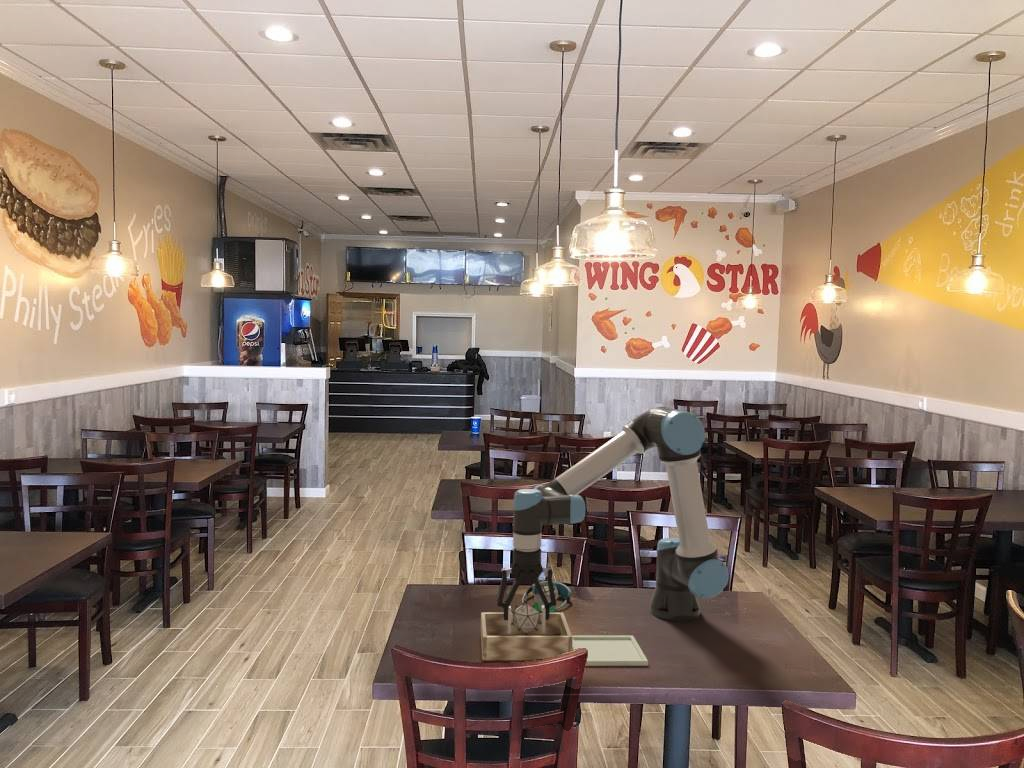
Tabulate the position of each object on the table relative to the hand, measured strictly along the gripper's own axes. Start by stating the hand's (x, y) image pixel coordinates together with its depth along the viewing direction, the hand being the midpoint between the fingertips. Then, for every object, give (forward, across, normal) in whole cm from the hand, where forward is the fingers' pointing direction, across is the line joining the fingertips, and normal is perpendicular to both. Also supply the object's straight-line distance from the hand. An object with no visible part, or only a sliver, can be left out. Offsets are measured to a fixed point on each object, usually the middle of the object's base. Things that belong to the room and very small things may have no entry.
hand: (526, 631), depth 204 cm
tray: (+4, -21, +4) cm, 22 cm away
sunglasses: (+5, -9, -34) cm, 36 cm away
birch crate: (+4, 0, 0) cm, 4 cm away
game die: (+2, 0, 0) cm, 2 cm away
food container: (+5, -8, -17) cm, 19 cm away
